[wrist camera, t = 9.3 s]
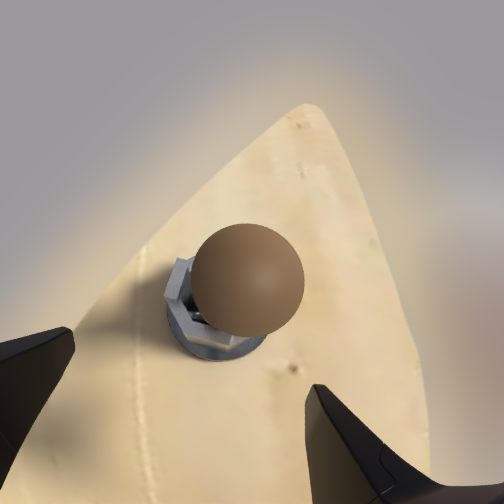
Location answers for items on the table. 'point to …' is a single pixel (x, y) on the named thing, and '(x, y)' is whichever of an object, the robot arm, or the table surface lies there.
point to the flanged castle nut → (200, 321)
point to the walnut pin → (247, 280)
